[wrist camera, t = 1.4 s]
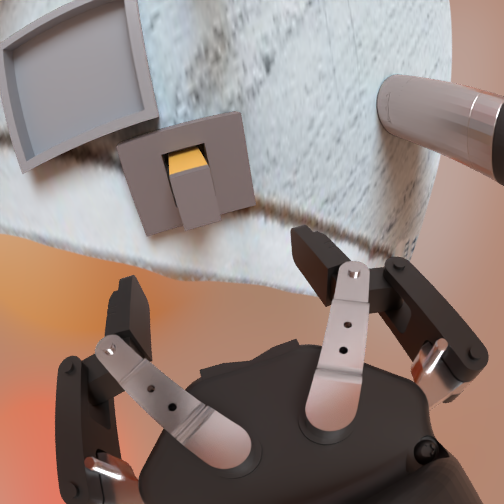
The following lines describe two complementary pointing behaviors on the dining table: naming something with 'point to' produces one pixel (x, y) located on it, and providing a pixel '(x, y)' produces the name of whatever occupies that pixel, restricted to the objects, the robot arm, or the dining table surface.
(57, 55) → the grey tray
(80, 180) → the dining table surface
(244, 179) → the socket plate
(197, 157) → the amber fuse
